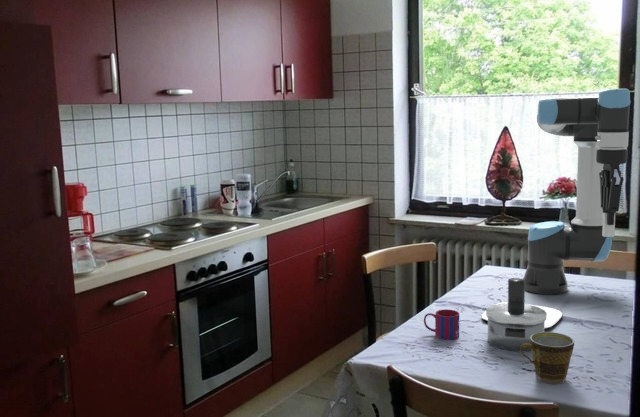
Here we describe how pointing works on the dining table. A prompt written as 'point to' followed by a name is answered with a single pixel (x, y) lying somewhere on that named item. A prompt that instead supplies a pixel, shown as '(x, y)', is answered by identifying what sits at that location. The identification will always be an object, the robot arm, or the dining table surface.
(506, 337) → the pot
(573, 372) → the dining table surface
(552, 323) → the plate
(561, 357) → the ceramic cup
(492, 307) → the lid
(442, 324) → the cup
